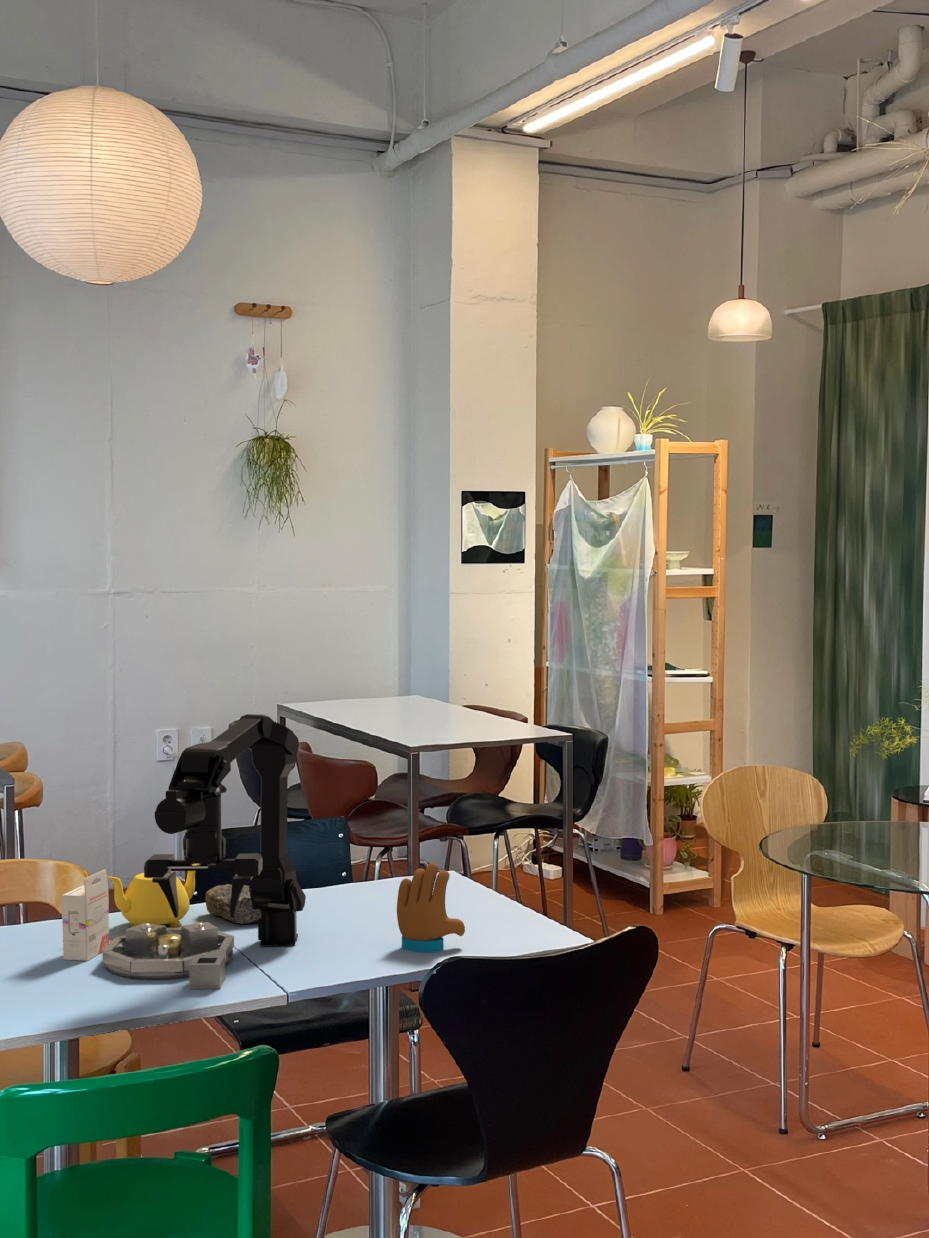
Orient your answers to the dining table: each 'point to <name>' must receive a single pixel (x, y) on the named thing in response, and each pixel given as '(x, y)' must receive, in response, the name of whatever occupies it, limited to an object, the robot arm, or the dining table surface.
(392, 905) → the dining table surface
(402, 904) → the toy
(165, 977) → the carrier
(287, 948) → the dining table surface
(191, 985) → the square pipe segment
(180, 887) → the teapot
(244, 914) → the rock
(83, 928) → the ink cartridge box
